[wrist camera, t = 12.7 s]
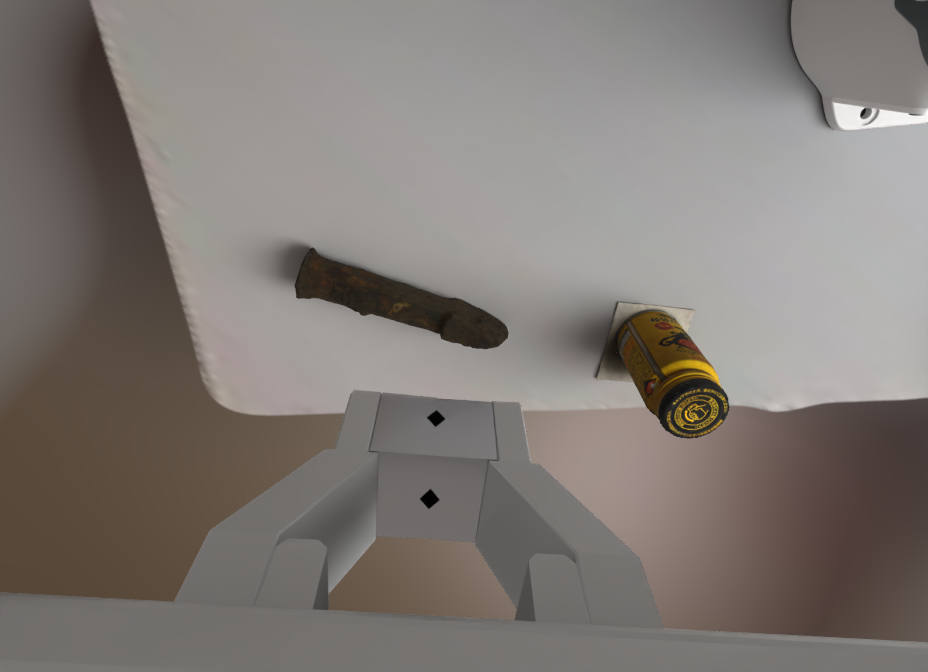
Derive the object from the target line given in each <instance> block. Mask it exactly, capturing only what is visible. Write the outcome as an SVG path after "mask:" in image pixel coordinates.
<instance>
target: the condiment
mask: <svg viewBox="0 0 928 672" xmlns="http://www.w3.org/2000/svg"><path fill="white" fill-rule="evenodd" d="M694 312H695V310H688V309H680V308H672V307H664V306H654V305H644V304H631V303H622V302H619V303H618V306H617V309H616V313H615V316H614V319H613V323H612V326H611V329H610V333H609V336H608V341H607V344H606V349H605V352H604V355H603V359H602V362H601V365H600V370H599V373H598V377H597V380H614V381H627V382H634V383H635V385H636V387H637V389H638V391H639V393H640V395H641V397H642V399H643V401H644V403H645V405H646V407H647V408H648V409H649V410H650V412H652V413H653V414H654V415H656V416H657V418H658V419H659V420H660V423H661V424H662V426H663V427H664V428H665V430H666V431H668V432H670V433H671V434H673V435H674V436H676V437H681V438H698V437H701V436H704V435H706V434H708V433H710V432H712V431H713V430H715V429H716V428H717V427H718V426H720V425H721V424H722V423H723V421H724V420H725V418H726V416H727V414H728V411H729V403H728V397H727V395H726V393H725V392H724V390H723V389H722V388H721V386H720V384H719V378H718V376H717V374H716V372H715V370H714V369H713V367H712V365H711V364H710V363H709V362H708V361H707V360H706V358H705V357H704V356H703V354H702V353H701V352H700V350H699V349H698V347H697V346H696V345H695V344H694V342H693V341H692V340H691V338H690V337H689V336H688V334H687V330H688V327H689V325H690V323H691V319H692V317H693V314H694ZM616 352H617V353H616Z"/></svg>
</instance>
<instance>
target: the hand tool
mask: <svg viewBox="0 0 928 672" xmlns="http://www.w3.org/2000/svg"><path fill="white" fill-rule="evenodd" d="M295 288H296V298H298V299H300V298H305V299H311V298H319V299H323V300H326V301H329V302H333V303H337V304H341V305H344V306H346V307H348V308H350V309H352V310H354V311H355V312H359V313H360V314H361V315H363V316H365V315H369V314H374V315H376V316H381V317H384V318H388V319H391V320H394V321H397V322H401V323H404V324H408V325H411V326H415V327H419V328H423V329H427V330H430V331H433V332H435V333H438V334H440V336H441V339H443V340H446V341H450V342H452V343H460V344H462V345H463V346H468V347H469V346H471V347H472V348H477V349H478V348H481V349H488V348H494V347H498V346H499V345H500V344H502V343H503V342H504V341H505V340H506V339H507V338H508V330H507V327H506V326H505V324H503V323H502V322H501V321H500V320H498V319H497V318H495V317H493V316H492V315H490V314H488V313H487V312H485V311H483V310H482V309H480V308H476V307H474V306H472V305H471V304H469V303H467V302H465V301H463V300H460V299H457V298H454V299H452V300H449V299H446V298H443V297H439V296H436V295H434V294H431V293H428V292H426V291H423V290H419V289H416V288H414V287H412V286H410V285H407V284H404V283H399V282H395V281H392V280H390V279H386V278H383V277H381V276H379V275H376V274H373V273H370V272H367V271H365V270H363V269H357V268H354V267H351V266H347V265H343V264H340V263H337V262H333V261H330V260H328V259H325V258H323V257H321V256H320V255H319V254H317V252H316V250H315V249H314V248H311V249H310V250H309V252H308V253H307V255H306V256H305V258H304V260H303V262H302V264H301V267H300V270H299V273H298V276H297V280H296V283H295Z"/></svg>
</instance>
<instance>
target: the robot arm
mask: <svg viewBox="0 0 928 672" xmlns="http://www.w3.org/2000/svg"><path fill="white" fill-rule="evenodd" d="M791 34H792V41H793V46H794V50H795V53H796V56H797V58H798V61H799V63H800V65H801V67H802V68H803V70H804V72H805V73H806V75H807V76H808V77H809V78H810V79H811V81H812V82H813V83H814V84H815V85H816V87H817V88H818V90H819V91H820V93H821V95H822V100H823V106H824V111H825V116H826V119H827V122H828V124H829V126H830V127H831V128H832V129H834V130H840V131H853V130H863V129H874V128H884V127H894V126H904V125H914V124H924V123H928V0H793V1H792V9H791ZM864 108H866V112H865V114H864V115H863V116H862V117H860V113H861V111H862V110H863V109H864ZM376 536H377V537H406V538H429V539H440V540H451V541H462V542H474V543H476V544H475V545H476V547H477V548H478V550H479V551H480V553H481V554H482V556H483V558H484V559H485V561H486V562H487V564H488V566H489V567H490V569H491V570H492V572H493V573H494V575H495V576H496V578H497V579H498V581H499V583H500V584H501V586H502V587H503V589H504V590H505V592H506V593H507V595H508V596H509V598H510V600H511V601H512V603H513V604H514V606H515V607H516V609H517V611H516V615H515V619H514V620H501V619H482V618H464V617H463V618H462V617H444V616H426V615H408V614H389V613H370V612H352V611H332V610H329V595H328V594H329V593H330V592H331V591H332V590H333V588H334V587H335V586H336V585H337V584H338V582H339V581H340V580H341V579H342V578H343V577H344V576H345V574H346V573H347V572H348V571H349V570H350V569H351V567H352V566H353V565H354V564H355V562H356V561H357V560H358V559H359V558H360V557H361V555H363V553H364V552H365V551H366V550H367V549H368V547H369V546H370V545H371V544H372V543H373V542H374V541H375V538H376ZM0 672H928V643H925V642H905V641H888V640H869V639H850V638H833V637H814V636H795V635H776V634H758V633H738V632H720V631H700V630H682V629H681V630H680V629H664V626H663V623H662V620H661V617H660V615H659V612H658V609H657V606H656V603H655V600H654V597H653V594H652V592H651V589H650V586H649V583H648V580H647V577H646V574H645V571H644V568H643V565H642V562H641V560H640V557H638V556H637V555H636V554H635V553H634V552H633V551H632V550H631V549H630V548H629V547H628V546H627V545H625V543H623V542H622V541H621V540H620V539H619V538H618V537H617V536H616V535H615V534H614V533H613V532H612V531H611V530H610V529H609V528H607V527H606V526H605V525H604V524H603V523H602V522H601V521H600V520H599V519H598V518H597V517H596V516H594V514H593V513H591V512H590V511H589V510H588V509H587V508H586V507H585V506H584V505H583V504H582V503H581V502H580V501H579V500H577V498H575V497H574V496H573V495H572V494H571V493H570V492H569V491H568V490H567V489H566V488H565V487H564V486H563V485H561V484H560V483H559V482H558V481H557V480H556V479H555V478H554V477H553V476H552V475H551V474H550V473H549V472H548V471H546V469H544V468H543V467H542V466H541V465H540V464H532V463H531V457H530V452H529V446H528V440H527V434H526V429H525V423H524V418H523V412H522V406H521V405H520V403H518V402H496V401H492V402H484V401H469V400H454V399H438V398H434V397H424V396H414V395H403V394H393V393H380V392H371V391H358V390H354V391H353V392H352V393H351V394H350V398H349V401H348V405H347V408H346V411H345V415H344V418H343V421H342V425H341V428H340V432H339V435H338V439H337V442H336V445H335V448H334V449H325V450H323V451H322V452H321V453H319V454H318V455H316V456H315V457H314V458H312V459H311V460H309V461H308V462H306V463H305V464H304V465H302V466H301V467H299V468H298V469H296V470H295V471H294V472H292V473H291V474H289V475H288V476H286V477H285V478H284V479H282V480H281V481H279V482H278V483H276V484H275V485H274V486H272V487H271V488H269V489H268V490H267V491H265V492H264V493H262V494H261V495H259V496H258V497H257V498H255V499H254V500H252V501H251V502H250V503H248V504H247V505H245V506H244V507H243V508H241V509H240V510H238V511H237V512H235V513H234V514H232V515H231V516H230V517H228V518H227V519H225V520H224V521H223V522H221V523H220V524H218V525H217V526H215V527H214V528H213V529H211V530H210V531H209V533H208V535H207V537H206V539H205V541H204V543H203V545H202V547H201V549H200V551H199V553H198V555H197V557H196V559H195V561H194V563H193V565H192V567H191V569H190V571H189V573H188V575H187V577H186V579H185V581H184V583H183V585H182V587H181V589H180V590H179V593H178V594H177V596H176V599H175V600H174V602H166V601H146V600H129V599H109V598H92V597H72V596H54V595H35V594H17V593H0Z"/></svg>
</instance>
